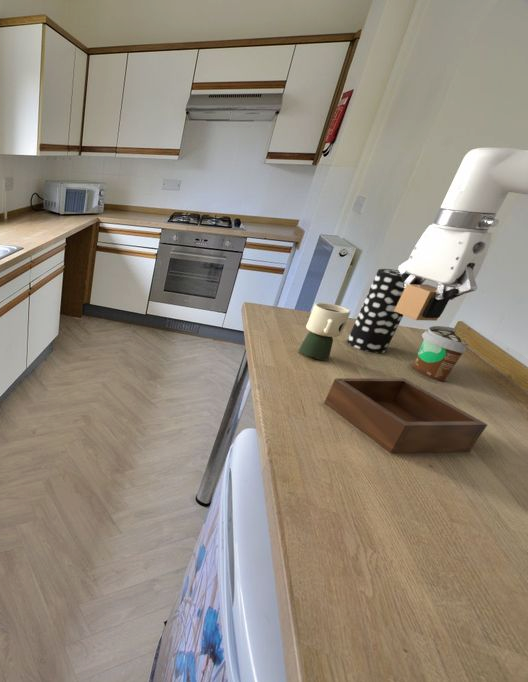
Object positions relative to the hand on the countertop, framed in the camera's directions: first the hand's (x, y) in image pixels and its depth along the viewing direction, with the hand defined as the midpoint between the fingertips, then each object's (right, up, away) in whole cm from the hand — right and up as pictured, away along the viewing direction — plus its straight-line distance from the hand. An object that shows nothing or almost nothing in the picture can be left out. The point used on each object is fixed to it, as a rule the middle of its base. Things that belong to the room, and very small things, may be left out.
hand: (417, 311), depth 84 cm
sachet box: (0, -1, 0) cm, 1 cm away
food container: (+16, -13, +14) cm, 25 cm away
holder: (-12, -22, -7) cm, 26 cm away
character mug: (-8, -10, +19) cm, 23 cm away
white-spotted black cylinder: (+12, -8, +26) cm, 29 cm away
